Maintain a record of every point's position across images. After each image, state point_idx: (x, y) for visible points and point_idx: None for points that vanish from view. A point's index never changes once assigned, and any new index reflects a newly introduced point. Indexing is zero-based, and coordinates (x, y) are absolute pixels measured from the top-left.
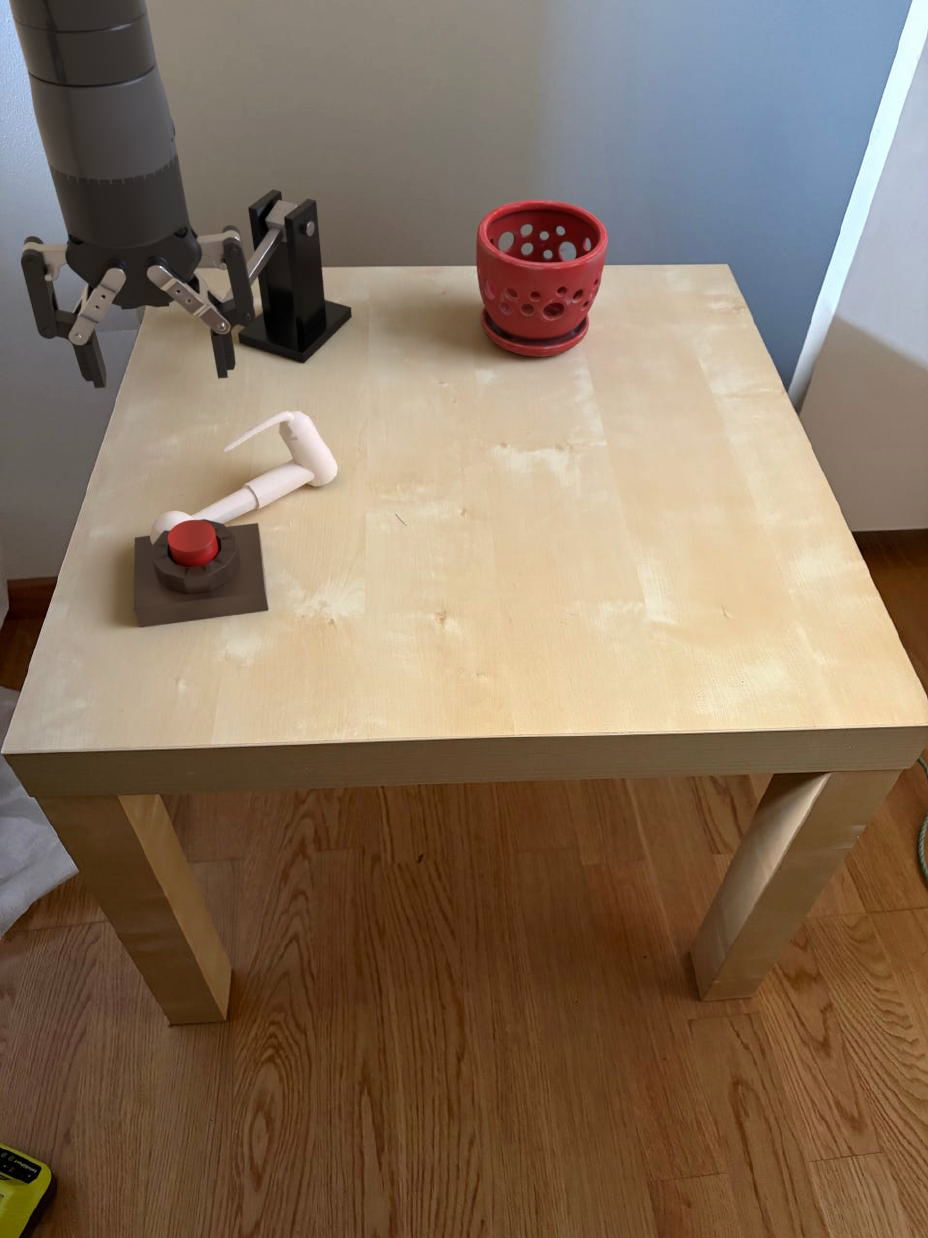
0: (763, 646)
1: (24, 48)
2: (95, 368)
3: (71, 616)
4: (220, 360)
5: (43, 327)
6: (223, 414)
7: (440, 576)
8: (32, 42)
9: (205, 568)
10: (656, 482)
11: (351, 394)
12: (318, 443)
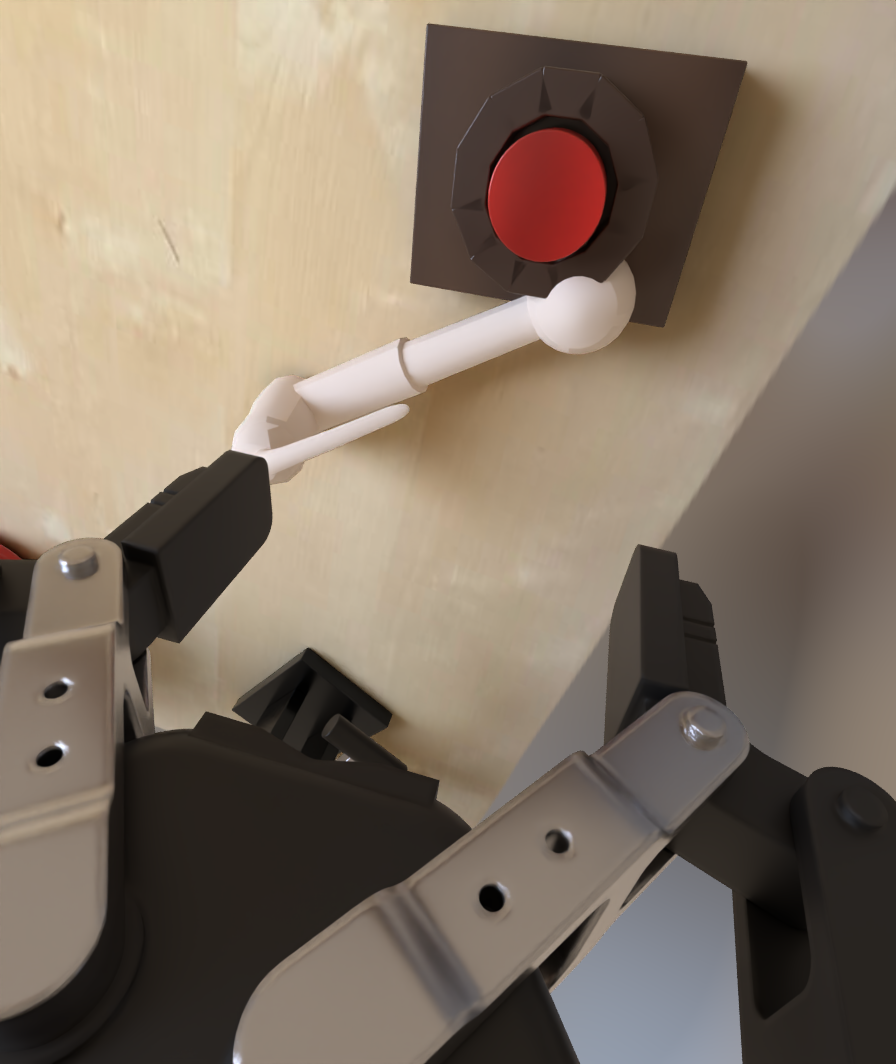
0: None
1: None
2: (657, 598)
3: (872, 164)
4: (205, 485)
5: (880, 837)
6: (437, 598)
7: (88, 30)
8: None
9: (540, 98)
10: None
11: (245, 566)
12: (247, 416)
